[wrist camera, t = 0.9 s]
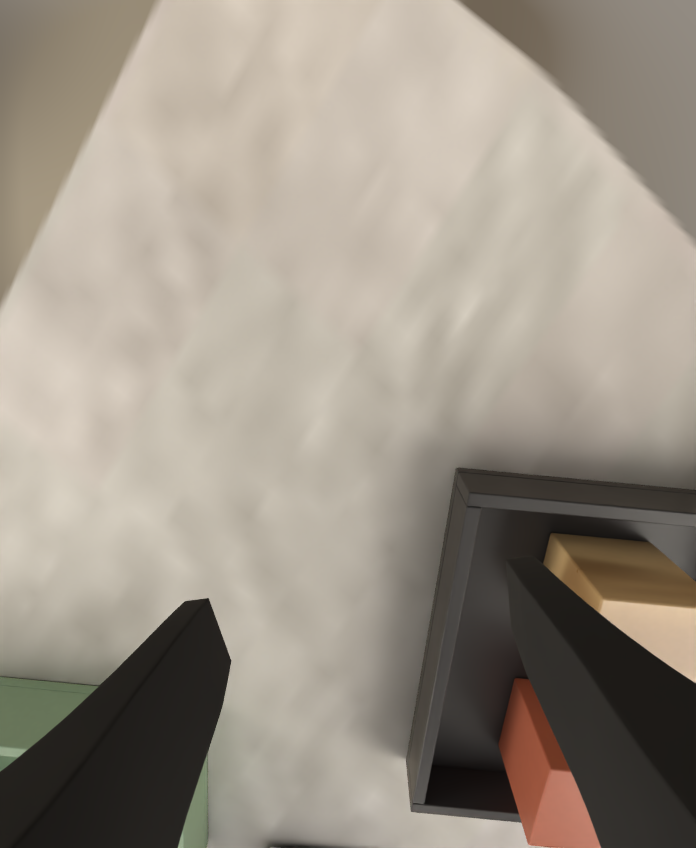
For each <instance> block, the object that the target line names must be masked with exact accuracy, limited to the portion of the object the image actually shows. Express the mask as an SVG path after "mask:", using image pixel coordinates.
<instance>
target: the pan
mask: <svg viewBox="0 0 696 848" xmlns="http://www.w3.org/2000/svg"><path fill="white" fill-rule="evenodd" d="M551 533H558V534H569V535H579V536H590V537H601V538H611V539H622V540H633V541H643V542H650V543H652V544H653V545H654V546H655V547H656V548H658V549H659V550H660V551H661V552H662V553H663V554H664V555H666V556H667V557H668V558H669V559H670V560H671V561H672V562H674V563H675V564H676V565H677V566H678V567H679V568H681V569H682V570H683V571H684V572H685V573H686V574H687V575H689V576H690V577H691V578H692V579H693V580H694V581H695V582H696V490H688V489H677V488H667V487H656V486H645V485H635V484H624V483H613V482H603V481H592V480H581V479H571V478H560V477H549V476H539V475H528V474H518V473H507V472H496V471H486V470H475V469H464V468H456V472H455V478H454V484H453V490H452V496H451V501H450V507H449V513H448V519H447V525H446V531H445V537H444V542H443V548H442V554H441V560H440V566H439V572H438V578H437V583H436V589H435V595H434V601H433V607H432V613H431V619H430V624H429V630H428V636H427V642H426V648H425V654H424V660H423V666H422V671H421V677H420V683H419V689H418V695H417V701H416V707H415V712H414V718H413V724H412V730H411V736H410V742H409V748H408V753H407V759H406V765H407V776H408V786H409V797H410V807H411V812H417V813H428V814H438V815H448V816H459V817H469V818H480V819H490V820H500V821H511V822H521V819H520V815H519V812H518V809H517V805H516V802H515V799H514V795H513V792H512V789H511V785H510V782H509V779H508V775H507V772H506V769H505V765H504V762H503V759H502V755H501V752H500V749H499V745H498V744H499V740H500V736H501V732H502V728H503V723H504V719H505V715H506V711H507V707H508V703H509V699H510V695H511V691H512V687H513V683H514V679H515V678H522V679H529V678H528V676H527V674H526V671H525V668H524V665H523V662H522V659H521V656H520V653H519V650H518V647H517V644H516V641H515V638H514V635H513V632H512V629H511V619H510V607H509V595H508V583H507V571H506V559H510V558H518V557H525V556H534V557H535V558H537V559H538V560H539V561H540V562H541V563H542V564H543V562H544V558H545V554H546V550H547V546H548V542H549V538H550V534H551ZM521 823H522V822H521Z"/></svg>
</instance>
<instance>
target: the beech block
mask: <svg viewBox="0 0 696 848" xmlns="http://www.w3.org/2000/svg"><path fill="white" fill-rule="evenodd" d="M543 565H544V566H546V567H547V568H548V569H549V570H550V571H551V572H552V573H553V574H554V575H555V576H557V577H558V578H559V579H560V580H561V581H562V582H563V583H564V584H566V585H567V586H568V587H569V588H570V589H571V590H572V591H574V592H575V593H576V594H577V595H578V596H579V597H581V598H582V599H583V600H584V601H585V602H587V603H588V604H589V605H590V606H591V607H593V608H594V609H595V610H596V611H598V612H599V613H600V614H601V615H602V616H604V617H605V618H606V619H607V620H609V621H610V622H611V623H612V624H614V625H615V626H616V627H617V628H619V629H620V630H621V631H623V632H624V633H625V634H626V635H628V636H629V637H630V638H632V639H633V640H634V641H636V642H637V643H639V644H640V645H641V646H643V647H644V648H645V649H647V650H648V651H649V652H651V653H652V654H653V655H655V656H656V657H658V658H659V659H661V660H662V661H663V662H665V663H666V664H668V665H669V666H671V667H672V668H673V669H675V670H676V671H678V672H679V673H681V674H682V675H684V676H686V677H687V678H689V679H690V680H692V681H693V682H695V683H696V582H695V581H694V580H693V579H692V578H691V577H690V576H689V575H687V574H686V573H685V572H684V571H683V570H682V569H681V568H679V567H678V566H677V565H676V564H675V563H674V562H672V561H671V560H670V559H669V558H668V557H667V556H666V555H664V554H663V553H662V552H661V551H660V550H659V549H658V548H656V547H655V546H654V545H653V544H652V543H650V542H643V541H633V540H622V539H611V538H601V537H590V536H579V535H569V534H558V533H551V534H550V538H549V542H548V546H547V550H546V554H545V558H544V562H543Z"/></svg>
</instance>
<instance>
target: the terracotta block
mask: <svg viewBox="0 0 696 848" xmlns="http://www.w3.org/2000/svg"><path fill="white" fill-rule="evenodd" d="M498 745H499V749H500V752H501V755H502V759H503V762H504V765H505V769H506V772H507V775H508V779H509V782H510V785H511V789H512V792H513V795H514V799H515V802H516V805H517V809H518V812H519V815H520V819H521V822H522V825H523V829H524V832H525V835H526V839H527V842H528V844H529V845H532V846H543V847H553V848H601V846H600V844H599V841H598V838H597V835H596V833H595V830H594V827H593V824H592V822H591V819H590V816H589V813H588V811H587V808H586V806H585V803H584V801H583V799H582V796H581V794H580V791H579V789H578V787H577V784H576V782H575V780H574V777H573V775H572V773H571V771H570V769H569V766H568V764H567V762H566V760H565V758H564V755H563V753H562V751H561V749H560V747H559V744H558V742H557V740H556V738H555V736H554V733H553V731H552V729H551V727H550V725H549V723H548V720H547V718H546V716H545V714H544V712H543V709H542V707H541V705H540V703H539V700H538V698H537V696H536V694H535V692H534V689H533V687H532V685H531V683H530V680H529V679H522V678H515V679H514V683H513V687H512V691H511V695H510V699H509V703H508V707H507V711H506V715H505V719H504V723H503V728H502V732H501V736H500V740H499V744H498Z"/></svg>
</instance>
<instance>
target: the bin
mask: <svg viewBox="0 0 696 848" xmlns="http://www.w3.org/2000/svg"><path fill="white" fill-rule="evenodd" d="M98 687H99V686H91V685H81V684H70V683H60V682H49V681H39V680H29V679H18V678H8V677H0V771H2V770H3V769H4V768H6V767H7V766H8V765H9V764H11V763H12V762H13V761H14V760H16V759H17V758H18V757H19V756H21V755H22V754H23V753H24V752H25V751H27V750H28V749H29V748H30V747H31V746H33V745H34V744H35V743H36V742H37V741H39V740H40V739H41V738H42V737H43V736H45V735H46V734H47V733H48V732H49V731H50V730H52V729H53V728H54V727H55V726H56V725H57V724H59V723H60V722H61V721H62V720H63V719H64V718H65V717H66V716H68V715H69V714H70V713H71V712H72V711H73V710H74V709H75V708H76V707H77V706H78V705H79V704H81V703H82V702H83V701H84V700H85V699H86V698H87V697H88V696H89V695H90V694H91V693H92V692H93V691H94V690H95V689H97V688H98ZM207 844H208V769H207V756H206V759H205V762H204V765H203V768H202V771H201V774H200V777H199V780H198V783H197V786H196V789H195V793H194V796H193V799H192V802H191V805H190V808H189V811H188V814H187V817H186V821H185V824H184V828H183V831H182V835H181V838H180V841H179V845H178V848H207Z"/></svg>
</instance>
